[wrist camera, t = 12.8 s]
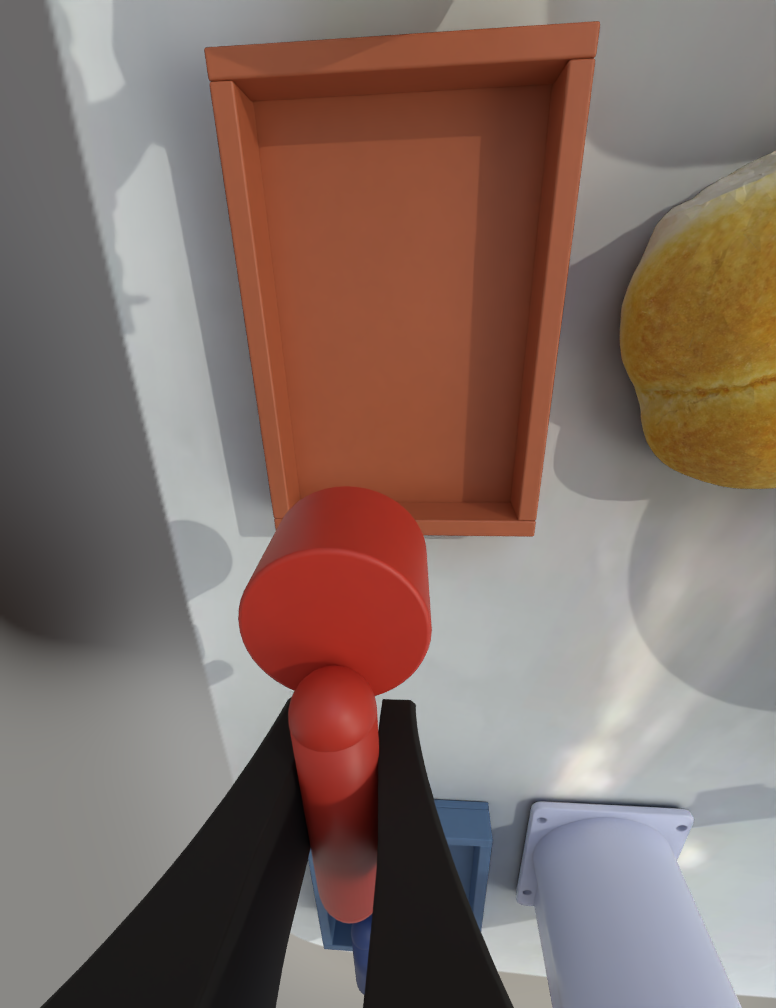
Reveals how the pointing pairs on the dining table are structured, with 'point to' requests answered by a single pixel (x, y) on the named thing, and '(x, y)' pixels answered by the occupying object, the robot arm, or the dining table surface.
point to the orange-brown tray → (406, 258)
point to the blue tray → (470, 855)
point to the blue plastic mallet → (361, 949)
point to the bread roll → (709, 332)
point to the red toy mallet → (340, 663)
